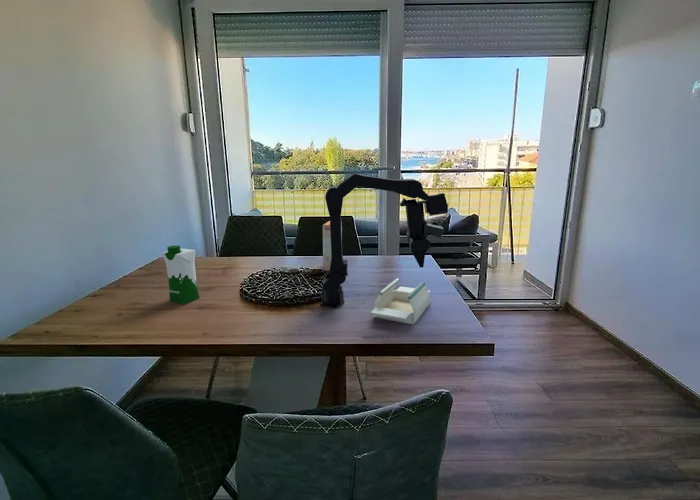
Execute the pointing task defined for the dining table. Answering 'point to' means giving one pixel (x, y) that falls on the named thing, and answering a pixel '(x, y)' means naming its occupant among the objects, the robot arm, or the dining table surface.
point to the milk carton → (181, 274)
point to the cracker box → (327, 246)
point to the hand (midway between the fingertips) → (420, 263)
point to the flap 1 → (386, 291)
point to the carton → (399, 307)
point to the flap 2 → (418, 296)
